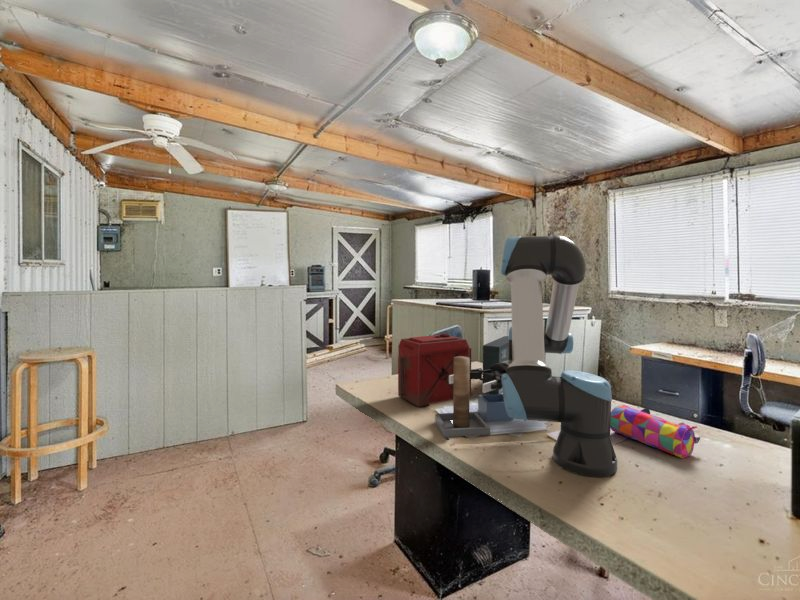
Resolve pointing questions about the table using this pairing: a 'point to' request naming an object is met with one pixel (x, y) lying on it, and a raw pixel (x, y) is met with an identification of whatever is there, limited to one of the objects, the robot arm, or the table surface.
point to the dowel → (461, 392)
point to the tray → (475, 428)
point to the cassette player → (495, 356)
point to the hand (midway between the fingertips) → (465, 384)
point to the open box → (492, 407)
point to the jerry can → (428, 367)
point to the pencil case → (654, 431)
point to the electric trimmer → (646, 410)
